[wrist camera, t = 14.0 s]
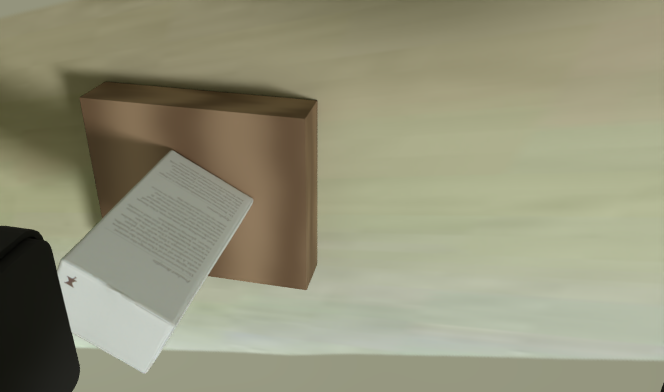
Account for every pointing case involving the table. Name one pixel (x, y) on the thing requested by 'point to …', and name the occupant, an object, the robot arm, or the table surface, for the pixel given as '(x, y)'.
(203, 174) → the skincare box
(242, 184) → the block
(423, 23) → the table surface
